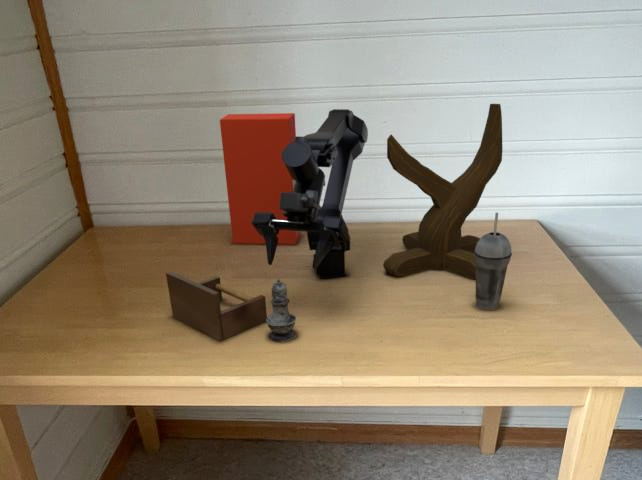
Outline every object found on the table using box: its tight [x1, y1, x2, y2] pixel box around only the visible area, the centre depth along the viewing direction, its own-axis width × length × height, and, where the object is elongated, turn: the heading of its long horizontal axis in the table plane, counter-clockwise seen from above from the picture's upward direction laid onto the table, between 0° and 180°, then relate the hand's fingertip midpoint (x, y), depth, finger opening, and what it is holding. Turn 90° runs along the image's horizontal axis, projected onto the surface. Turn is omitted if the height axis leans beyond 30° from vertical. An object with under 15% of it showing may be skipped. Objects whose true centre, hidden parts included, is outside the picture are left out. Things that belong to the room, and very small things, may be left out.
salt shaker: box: [265, 278, 297, 343], centre depth 122 cm, size 6×6×12 cm
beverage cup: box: [474, 211, 513, 311], centre depth 127 cm, size 7×7×20 cm
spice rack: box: [165, 270, 268, 343], centre depth 130 cm, size 12×16×10 cm
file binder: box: [219, 112, 302, 246], centre depth 166 cm, size 8×17×32 cm, turn 80°
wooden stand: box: [382, 103, 503, 280], centre depth 145 cm, size 29×29×35 cm
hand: (291, 266), depth 125 cm, fingers open, 9 cm apart
